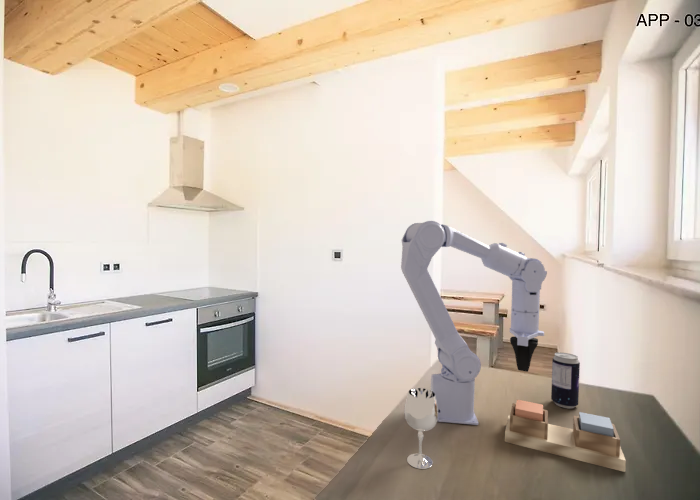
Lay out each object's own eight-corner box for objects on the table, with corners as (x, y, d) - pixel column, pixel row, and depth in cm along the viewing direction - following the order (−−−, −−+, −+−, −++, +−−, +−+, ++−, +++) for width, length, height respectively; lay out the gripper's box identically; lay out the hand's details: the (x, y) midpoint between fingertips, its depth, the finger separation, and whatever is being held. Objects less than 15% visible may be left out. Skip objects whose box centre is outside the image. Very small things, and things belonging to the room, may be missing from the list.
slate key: (580, 438, 67) (581, 422, 67) (578, 427, 71) (579, 411, 71) (613, 445, 65) (613, 429, 65) (608, 433, 69) (609, 417, 69)
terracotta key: (514, 423, 72) (515, 408, 72) (516, 413, 76) (516, 399, 76) (542, 429, 70) (543, 414, 70) (542, 419, 74) (543, 404, 74)
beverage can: (582, 411, 86) (584, 360, 86) (555, 408, 87) (557, 357, 87) (572, 401, 92) (574, 353, 91) (547, 398, 93) (549, 351, 92)
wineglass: (413, 448, 68) (415, 384, 68) (442, 460, 65) (444, 392, 65) (396, 462, 64) (398, 393, 64) (427, 475, 60) (429, 403, 60)
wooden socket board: (504, 441, 72) (505, 416, 72) (508, 424, 79) (509, 401, 79) (625, 472, 63) (626, 442, 63) (617, 449, 70) (618, 423, 70)
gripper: (545, 318, 75) (542, 384, 76) (544, 307, 88) (543, 364, 88) (507, 314, 79) (505, 377, 79) (512, 304, 91) (511, 359, 92)
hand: (523, 370), depth 84 cm, fingers closed
